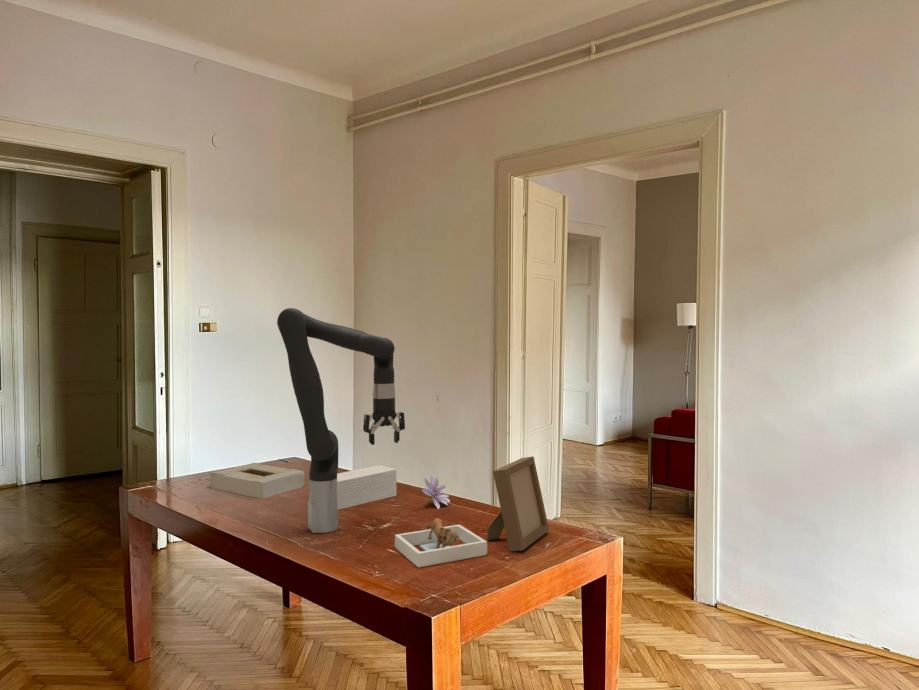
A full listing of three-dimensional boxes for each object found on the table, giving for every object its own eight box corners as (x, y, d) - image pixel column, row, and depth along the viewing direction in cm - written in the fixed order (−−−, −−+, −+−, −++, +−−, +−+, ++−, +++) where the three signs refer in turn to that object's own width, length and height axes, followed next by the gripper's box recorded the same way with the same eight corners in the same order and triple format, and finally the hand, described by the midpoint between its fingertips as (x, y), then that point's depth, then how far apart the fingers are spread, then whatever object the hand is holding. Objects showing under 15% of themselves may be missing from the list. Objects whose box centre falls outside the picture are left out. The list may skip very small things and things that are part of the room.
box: (305, 487, 281) (253, 477, 298) (305, 469, 281) (253, 460, 298) (262, 501, 262) (209, 489, 278) (262, 482, 261) (209, 471, 278)
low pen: (418, 567, 190) (418, 553, 190) (394, 547, 206) (394, 534, 206) (487, 554, 200) (487, 541, 200) (459, 536, 216) (459, 524, 216)
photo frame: (549, 533, 220) (549, 458, 219) (522, 553, 201) (522, 471, 200) (508, 526, 227) (508, 453, 226) (478, 545, 208) (478, 466, 207)
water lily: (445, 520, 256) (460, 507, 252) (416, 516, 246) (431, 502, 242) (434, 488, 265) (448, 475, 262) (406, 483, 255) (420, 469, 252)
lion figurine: (456, 557, 201) (463, 533, 198) (441, 560, 198) (448, 535, 195) (433, 527, 212) (439, 504, 209) (418, 530, 209) (424, 506, 206)
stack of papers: (380, 491, 274) (380, 465, 274) (396, 496, 267) (396, 469, 266) (312, 506, 252) (312, 478, 251) (328, 512, 244) (327, 483, 244)
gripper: (367, 398, 221) (368, 447, 221) (407, 396, 227) (407, 443, 228) (360, 396, 227) (360, 443, 228) (399, 394, 234) (399, 440, 234)
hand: (384, 443), depth 228 cm, fingers open, 8 cm apart
